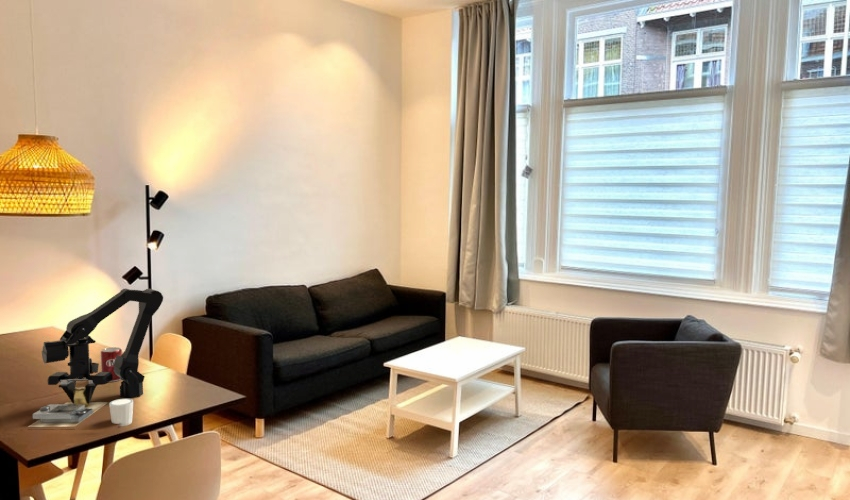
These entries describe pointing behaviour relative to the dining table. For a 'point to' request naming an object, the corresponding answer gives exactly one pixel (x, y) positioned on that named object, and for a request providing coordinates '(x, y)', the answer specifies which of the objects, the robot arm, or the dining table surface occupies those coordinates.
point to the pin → (80, 396)
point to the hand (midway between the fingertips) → (81, 403)
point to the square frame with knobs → (62, 413)
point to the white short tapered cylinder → (121, 411)
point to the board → (92, 405)
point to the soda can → (110, 361)
